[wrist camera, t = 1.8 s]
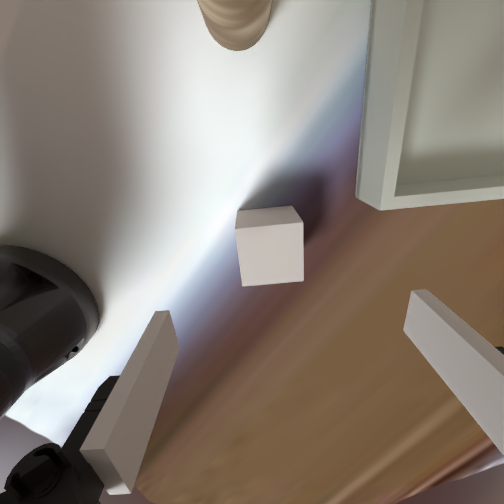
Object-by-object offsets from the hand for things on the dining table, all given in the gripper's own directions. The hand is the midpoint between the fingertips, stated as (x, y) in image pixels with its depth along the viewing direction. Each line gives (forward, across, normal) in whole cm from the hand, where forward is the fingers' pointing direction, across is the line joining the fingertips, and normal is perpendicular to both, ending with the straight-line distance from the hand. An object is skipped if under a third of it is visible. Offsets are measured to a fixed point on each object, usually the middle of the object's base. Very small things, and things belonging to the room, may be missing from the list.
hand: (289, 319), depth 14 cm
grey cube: (+14, 0, 0) cm, 14 cm away
